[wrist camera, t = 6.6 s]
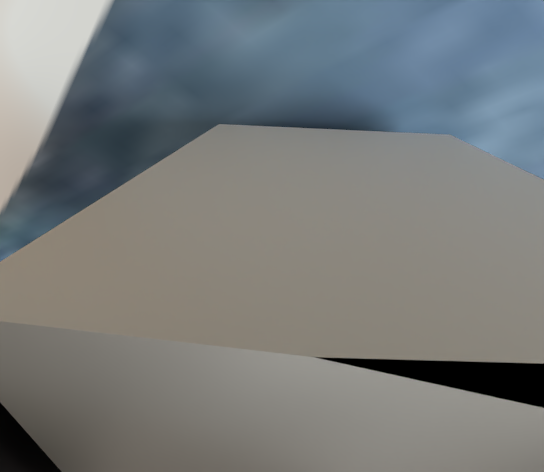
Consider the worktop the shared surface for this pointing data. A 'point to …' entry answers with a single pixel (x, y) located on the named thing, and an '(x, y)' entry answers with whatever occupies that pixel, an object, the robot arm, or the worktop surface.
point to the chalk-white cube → (288, 311)
